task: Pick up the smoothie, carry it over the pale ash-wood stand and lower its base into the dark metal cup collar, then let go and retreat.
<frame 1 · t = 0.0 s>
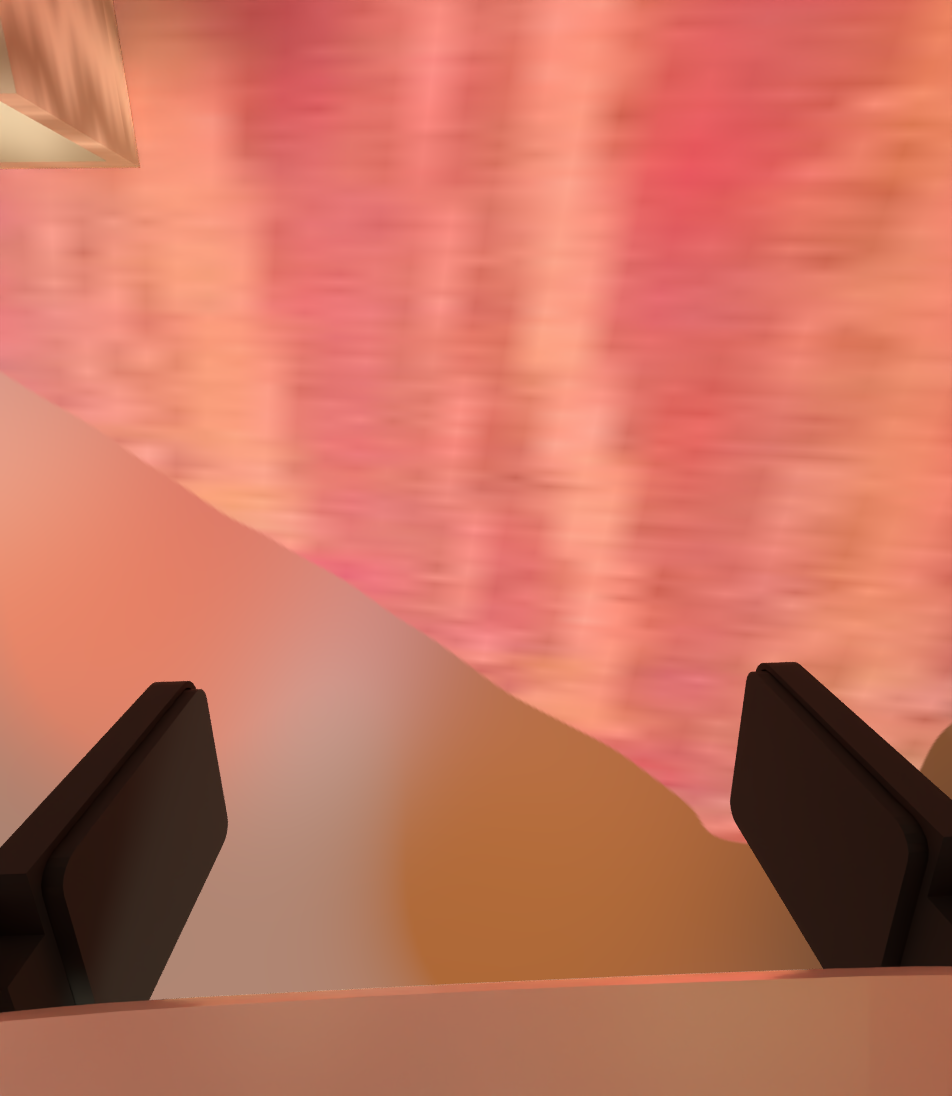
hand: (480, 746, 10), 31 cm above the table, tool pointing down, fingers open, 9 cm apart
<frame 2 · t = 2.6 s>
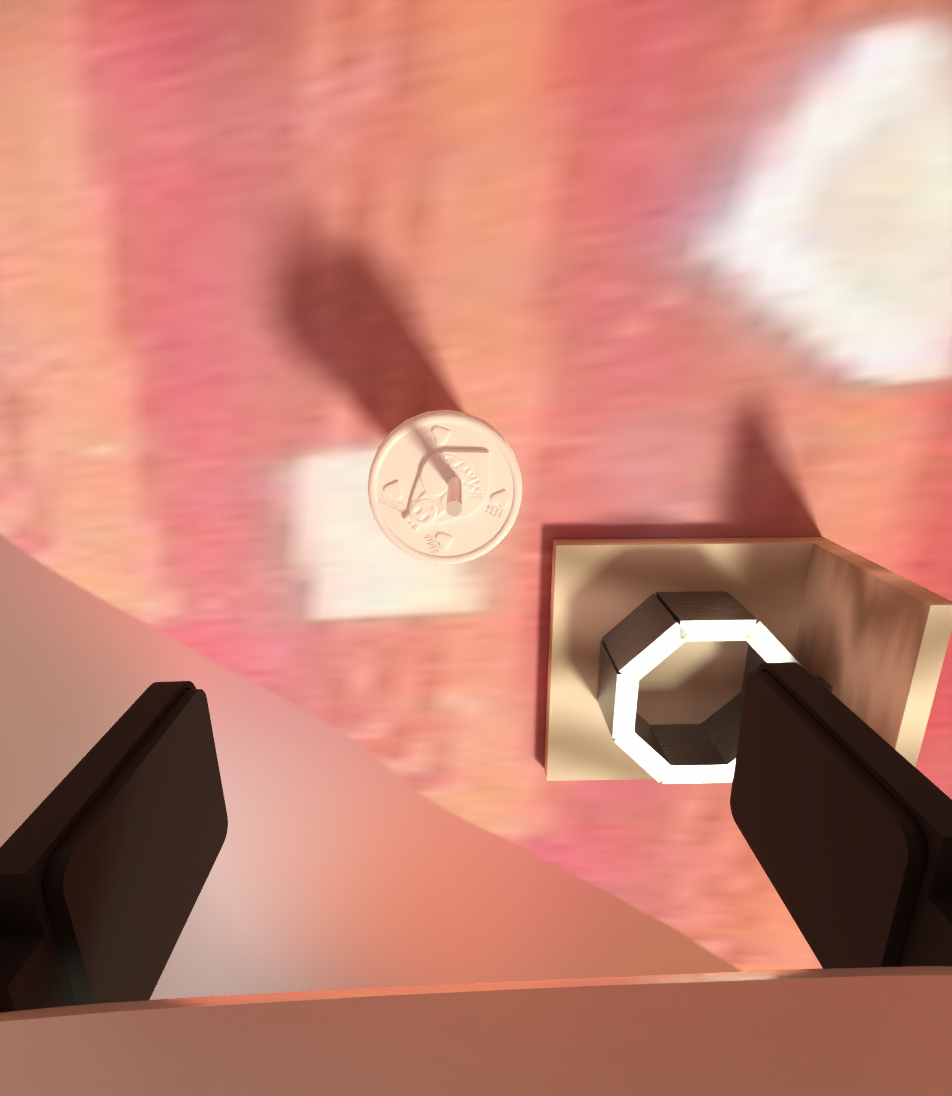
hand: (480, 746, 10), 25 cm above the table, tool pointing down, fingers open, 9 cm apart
smoothie: (449, 454, 34), on the table
holder: (675, 659, 38), on the table
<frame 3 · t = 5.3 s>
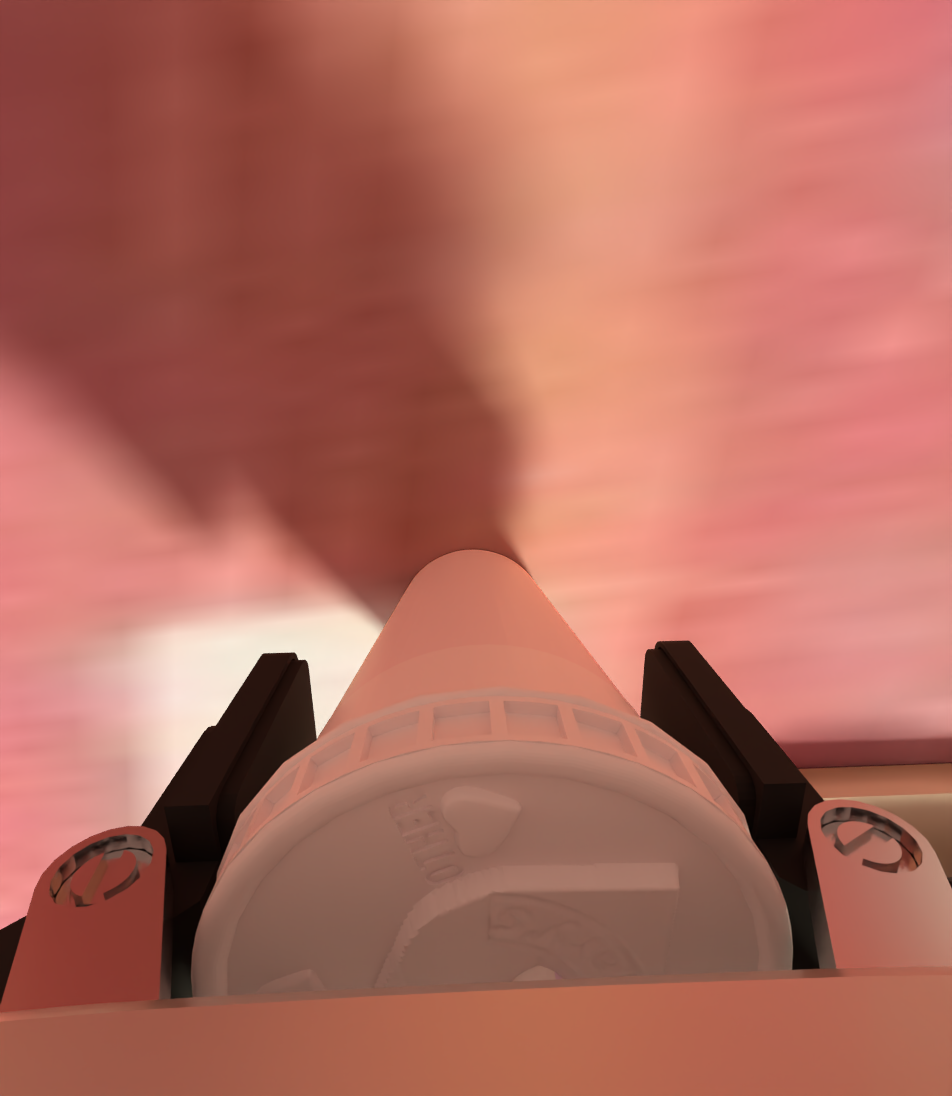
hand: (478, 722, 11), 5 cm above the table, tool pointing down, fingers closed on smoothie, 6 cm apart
smoothie: (472, 614, 16), on the table, touching gripper
holder: (904, 968, 20), on the table
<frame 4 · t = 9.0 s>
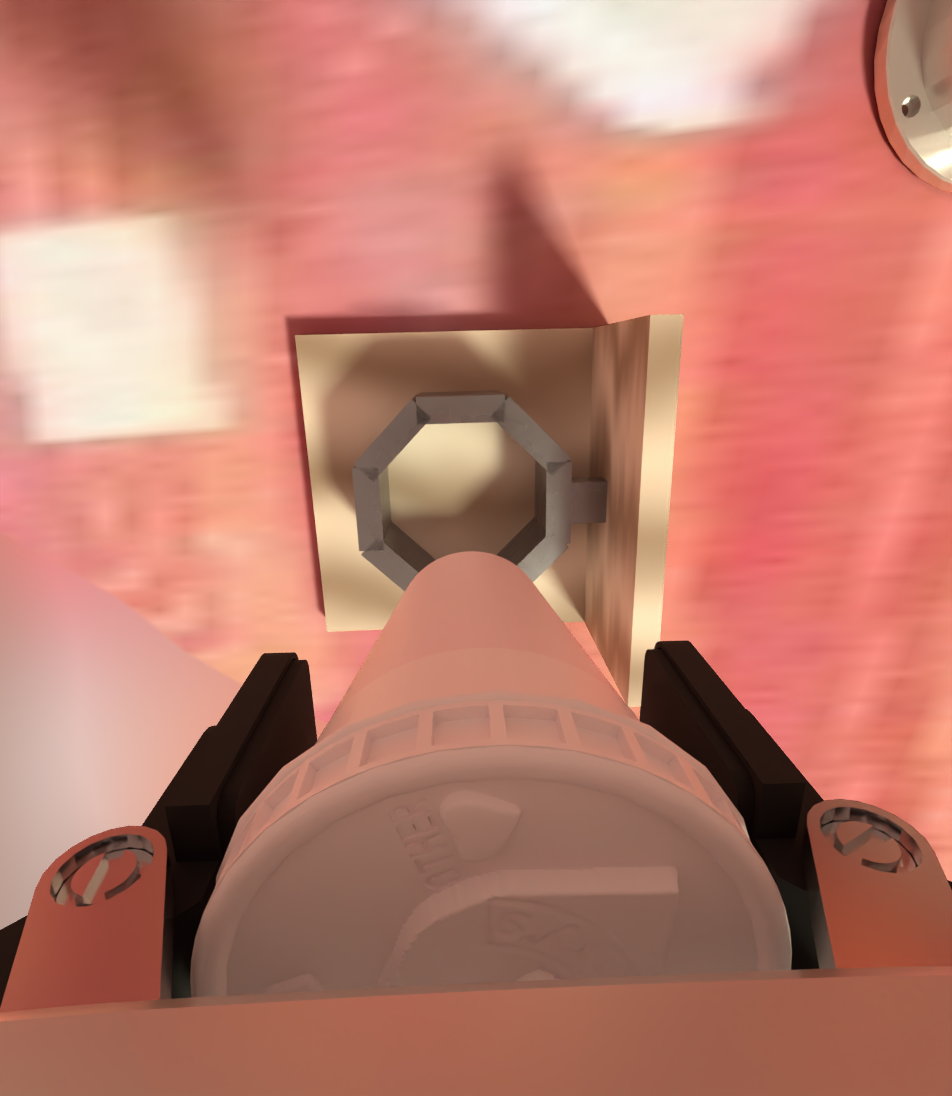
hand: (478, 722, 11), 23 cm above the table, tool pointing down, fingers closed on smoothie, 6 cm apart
smoothie: (470, 616, 16), point 19 cm above the table, touching gripper
holder: (462, 485, 33), on the table
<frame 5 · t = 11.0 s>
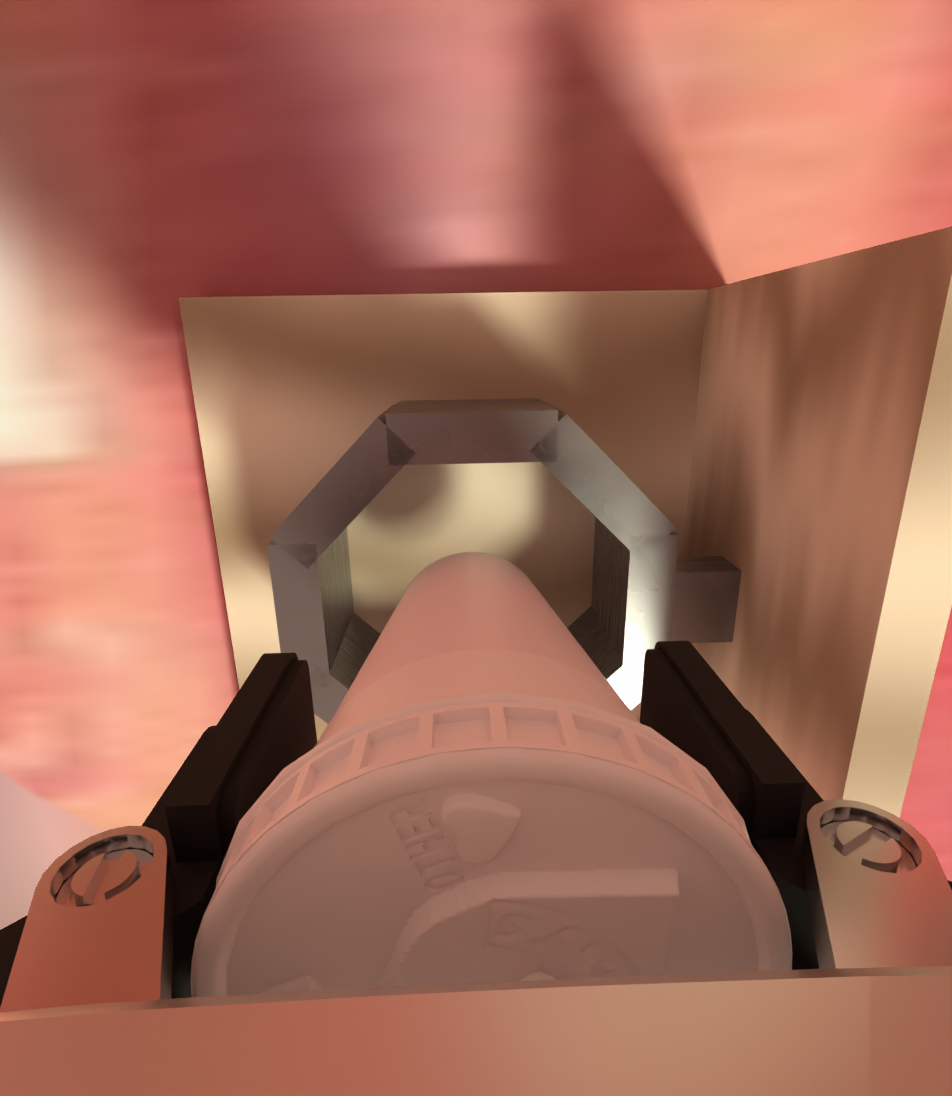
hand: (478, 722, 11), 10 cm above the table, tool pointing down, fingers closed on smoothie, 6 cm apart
smoothie: (470, 617, 16), point 5 cm above the table, touching gripper
holder: (471, 551, 20), on the table
when the fingers open (7 cm above the table, at t = 12.7 s): smoothie drops 1 cm, resting on holder.
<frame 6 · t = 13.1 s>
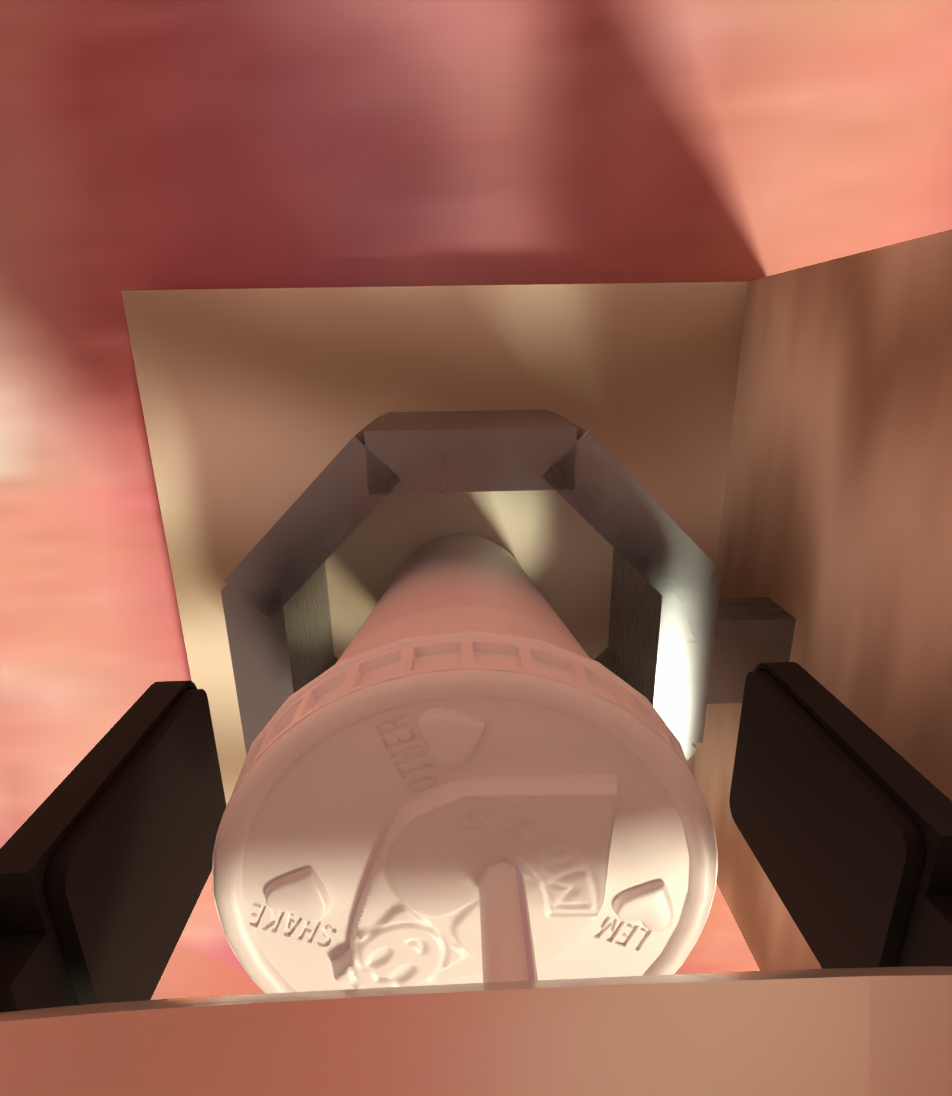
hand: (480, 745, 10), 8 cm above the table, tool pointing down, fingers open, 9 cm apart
smoothie: (461, 595, 17), point 1 cm above the table, touching holder
holder: (469, 583, 18), on the table
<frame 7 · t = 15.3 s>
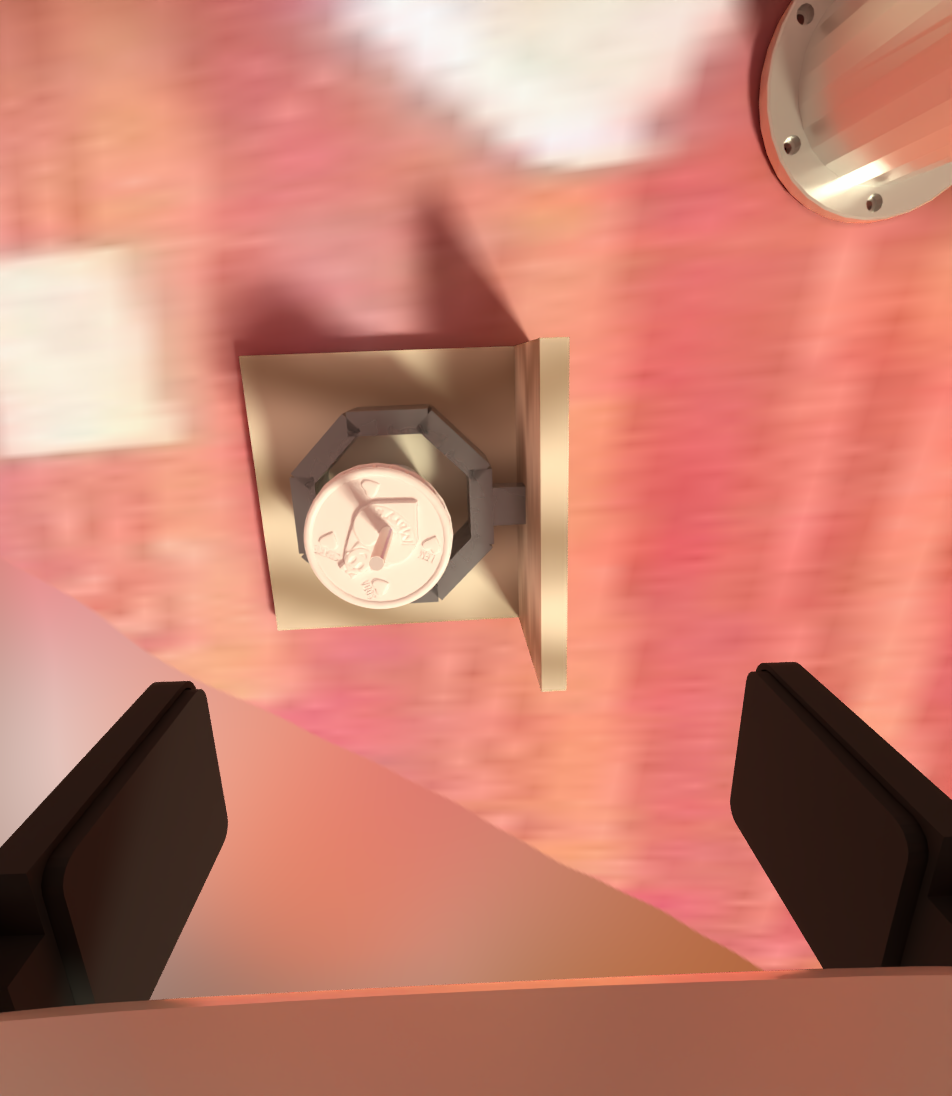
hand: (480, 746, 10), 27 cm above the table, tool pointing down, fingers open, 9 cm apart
smoothie: (395, 494, 35), point 1 cm above the table, touching holder
holder: (401, 491, 36), on the table
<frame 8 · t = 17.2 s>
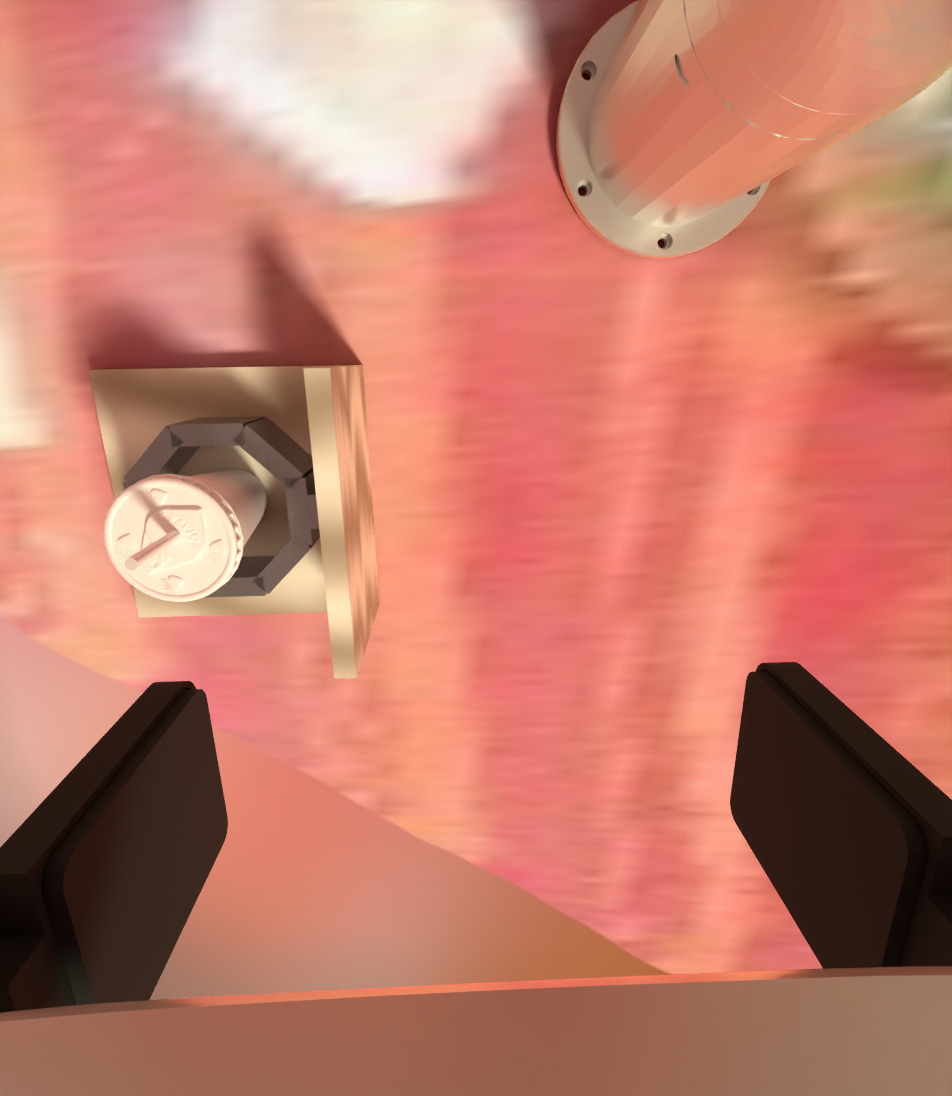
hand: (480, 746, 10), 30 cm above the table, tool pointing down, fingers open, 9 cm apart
smoothie: (239, 497, 38), point 1 cm above the table, touching holder
holder: (248, 494, 39), on the table
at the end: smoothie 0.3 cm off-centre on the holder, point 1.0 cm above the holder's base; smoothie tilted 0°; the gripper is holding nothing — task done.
